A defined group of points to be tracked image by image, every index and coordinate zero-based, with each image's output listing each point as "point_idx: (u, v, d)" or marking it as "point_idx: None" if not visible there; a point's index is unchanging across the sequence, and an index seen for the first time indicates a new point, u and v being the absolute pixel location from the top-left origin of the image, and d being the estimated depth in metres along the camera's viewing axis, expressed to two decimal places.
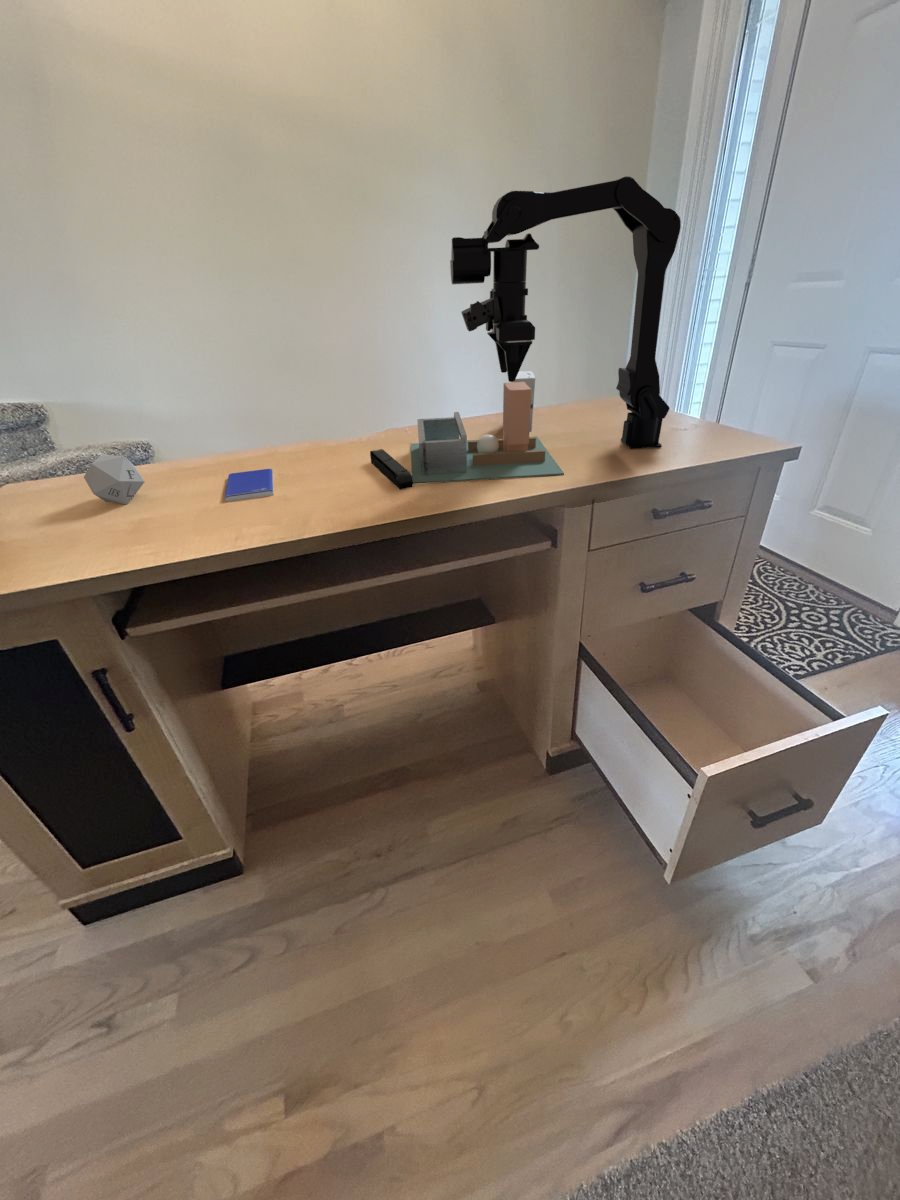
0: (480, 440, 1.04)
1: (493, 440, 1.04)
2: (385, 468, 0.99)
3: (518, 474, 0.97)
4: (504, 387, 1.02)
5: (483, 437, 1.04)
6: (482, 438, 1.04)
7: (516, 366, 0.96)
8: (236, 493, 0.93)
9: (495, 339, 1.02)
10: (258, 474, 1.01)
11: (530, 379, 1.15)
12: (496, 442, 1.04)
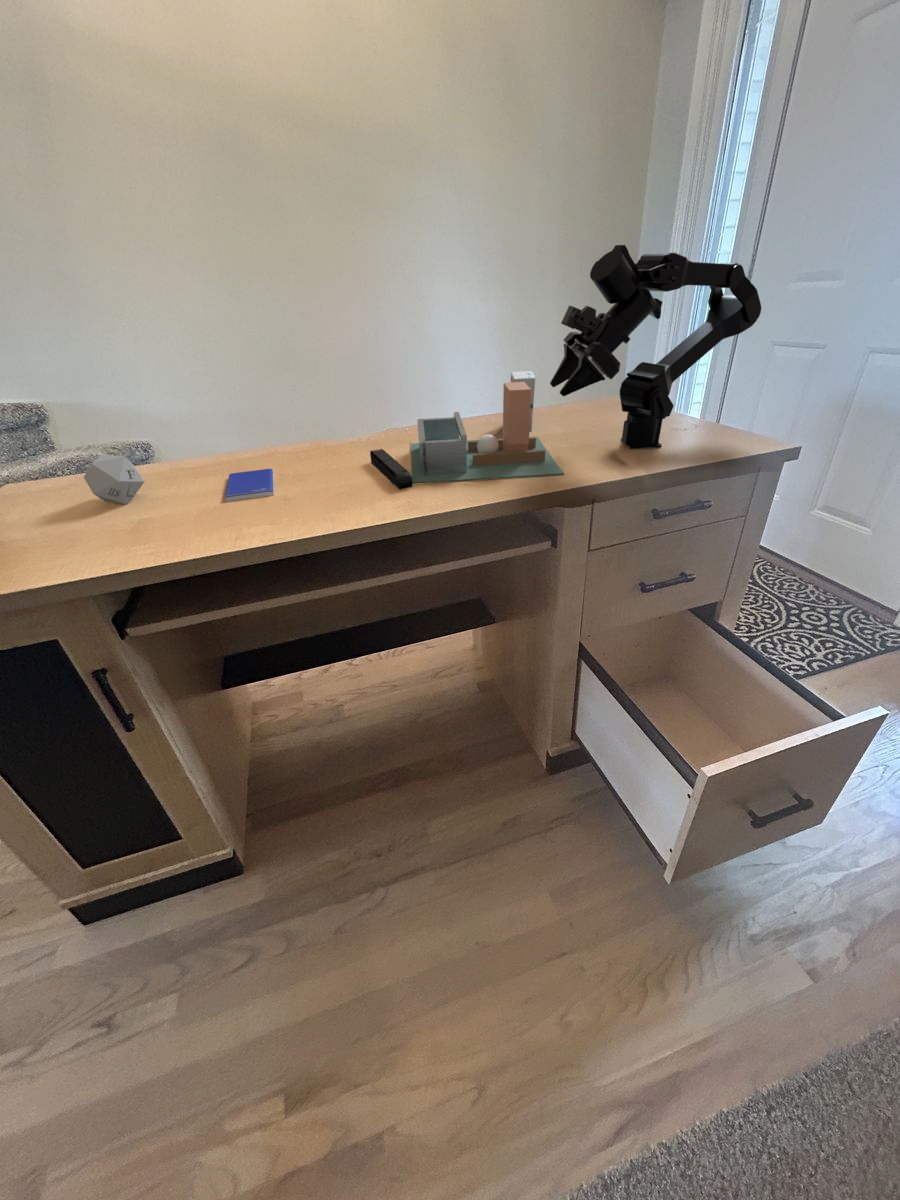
0: (480, 440, 1.04)
1: (493, 440, 1.04)
2: (385, 468, 0.99)
3: (518, 474, 0.97)
4: (504, 387, 1.02)
5: (483, 437, 1.04)
6: (482, 438, 1.04)
7: (575, 386, 0.96)
8: (236, 493, 0.93)
9: (568, 354, 1.02)
10: (258, 474, 1.01)
11: (530, 379, 1.15)
12: (496, 442, 1.04)
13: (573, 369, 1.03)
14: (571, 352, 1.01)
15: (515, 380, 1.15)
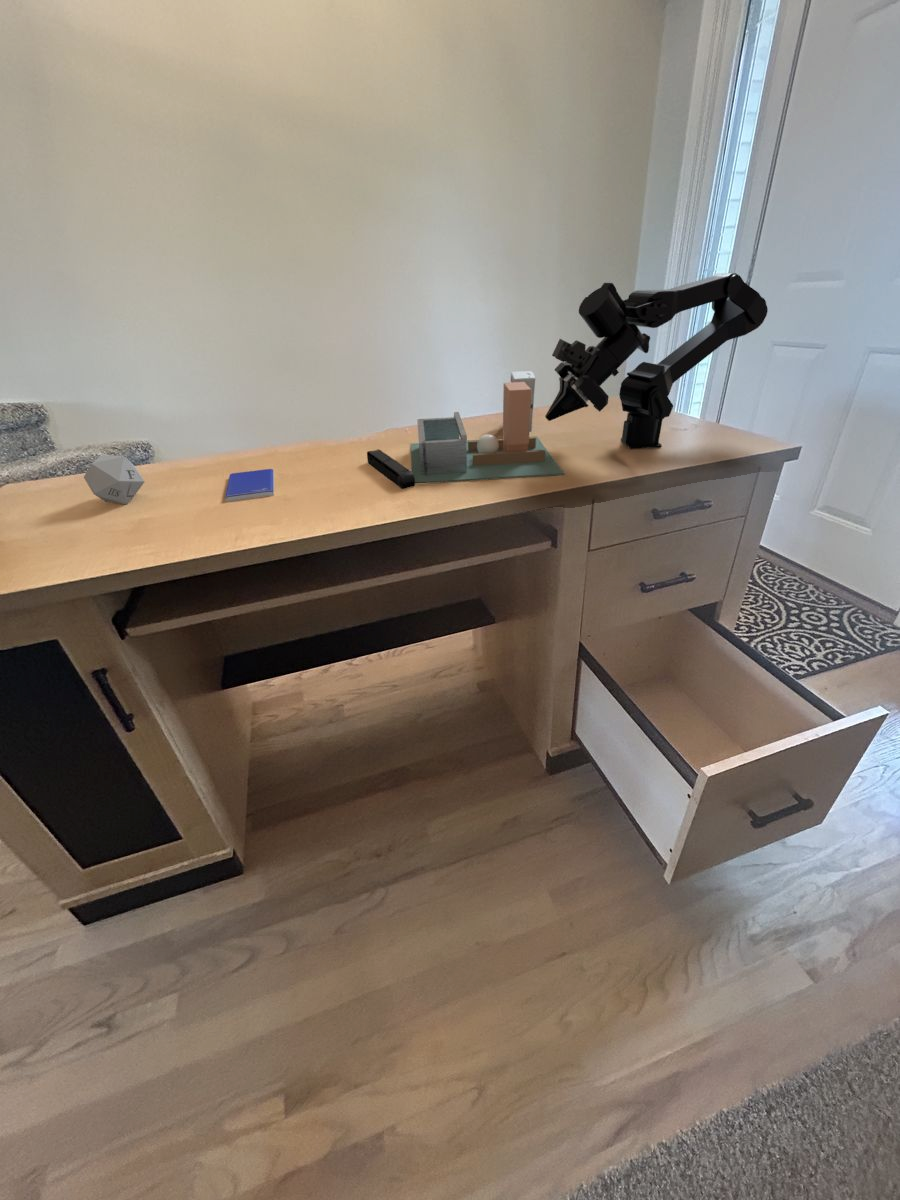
0: (480, 440, 1.04)
1: (493, 440, 1.04)
2: (385, 468, 0.99)
3: (518, 474, 0.97)
4: (504, 387, 1.02)
5: (483, 437, 1.04)
6: (482, 438, 1.04)
7: (560, 412, 1.02)
8: (237, 493, 0.93)
9: (563, 388, 1.01)
10: (259, 474, 1.01)
11: (530, 379, 1.15)
12: (496, 442, 1.04)
13: None
14: None
15: (515, 380, 1.15)
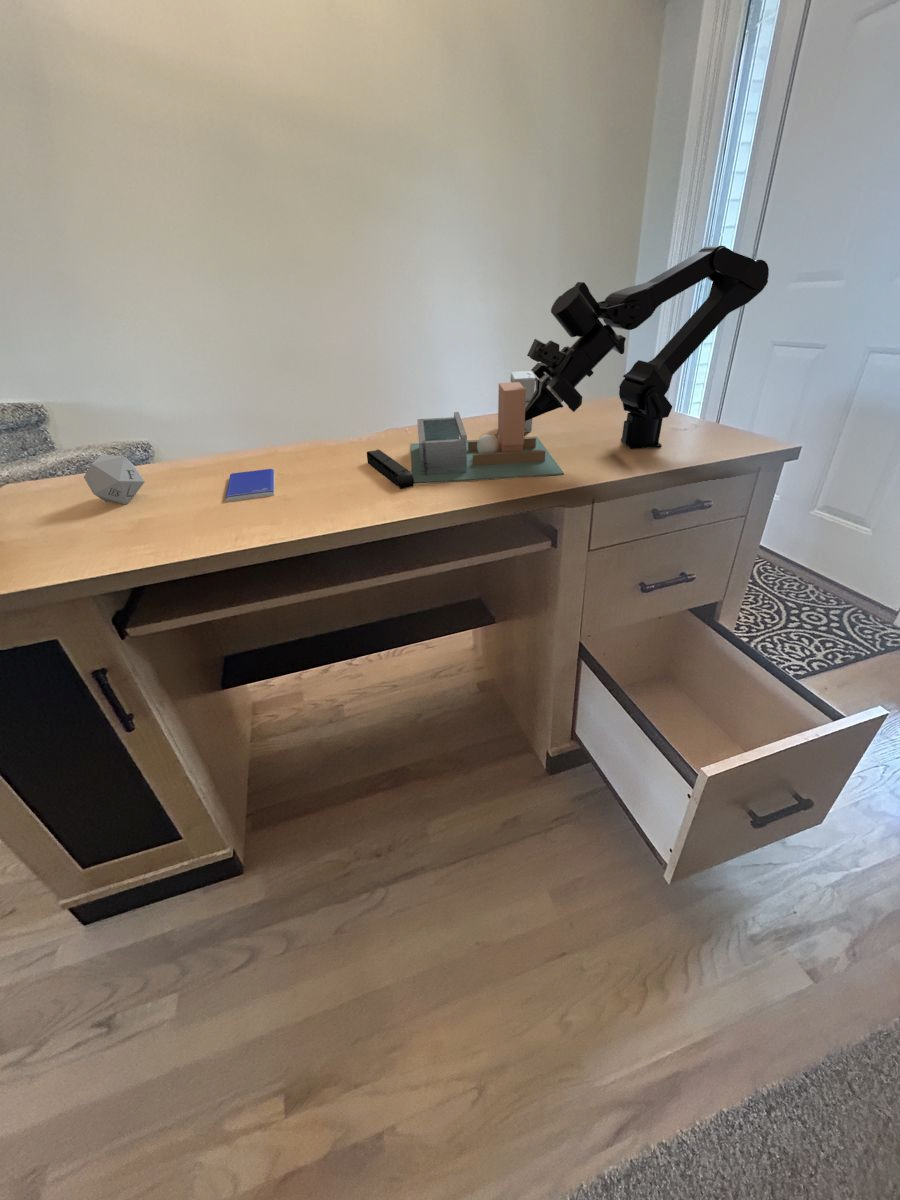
0: (480, 440, 1.04)
1: (493, 440, 1.04)
2: (384, 468, 0.99)
3: (518, 474, 0.97)
4: (499, 387, 1.02)
5: (483, 437, 1.04)
6: (482, 438, 1.04)
7: (536, 412, 1.01)
8: (237, 493, 0.93)
9: (539, 388, 1.01)
10: (259, 474, 1.01)
11: (530, 379, 1.15)
12: (496, 442, 1.04)
13: None
14: None
15: (515, 380, 1.15)
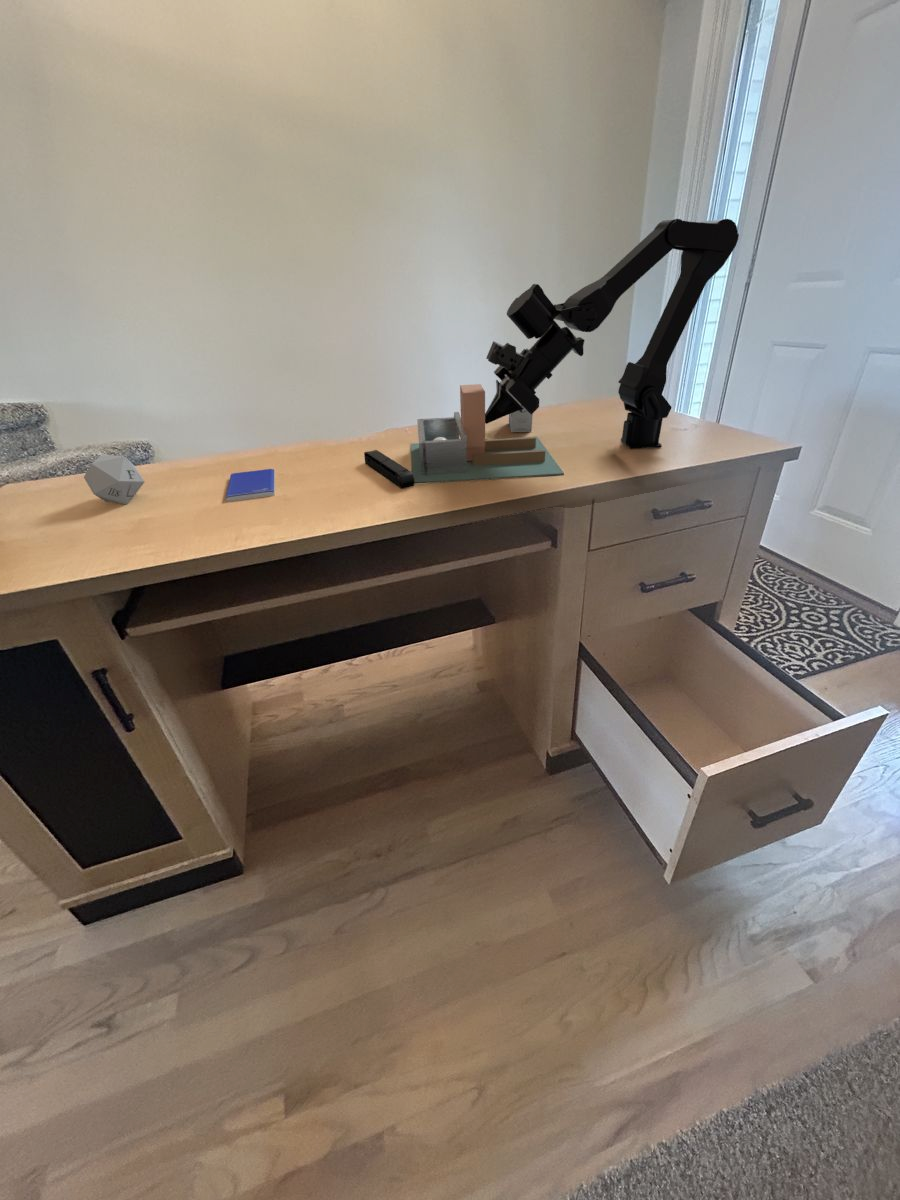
0: None
1: None
2: (383, 468, 0.99)
3: (518, 474, 0.97)
4: (460, 389, 1.02)
5: None
6: None
7: (496, 415, 1.01)
8: (237, 493, 0.93)
9: (499, 391, 1.01)
10: (259, 474, 1.01)
11: None
12: None
13: None
14: None
15: None
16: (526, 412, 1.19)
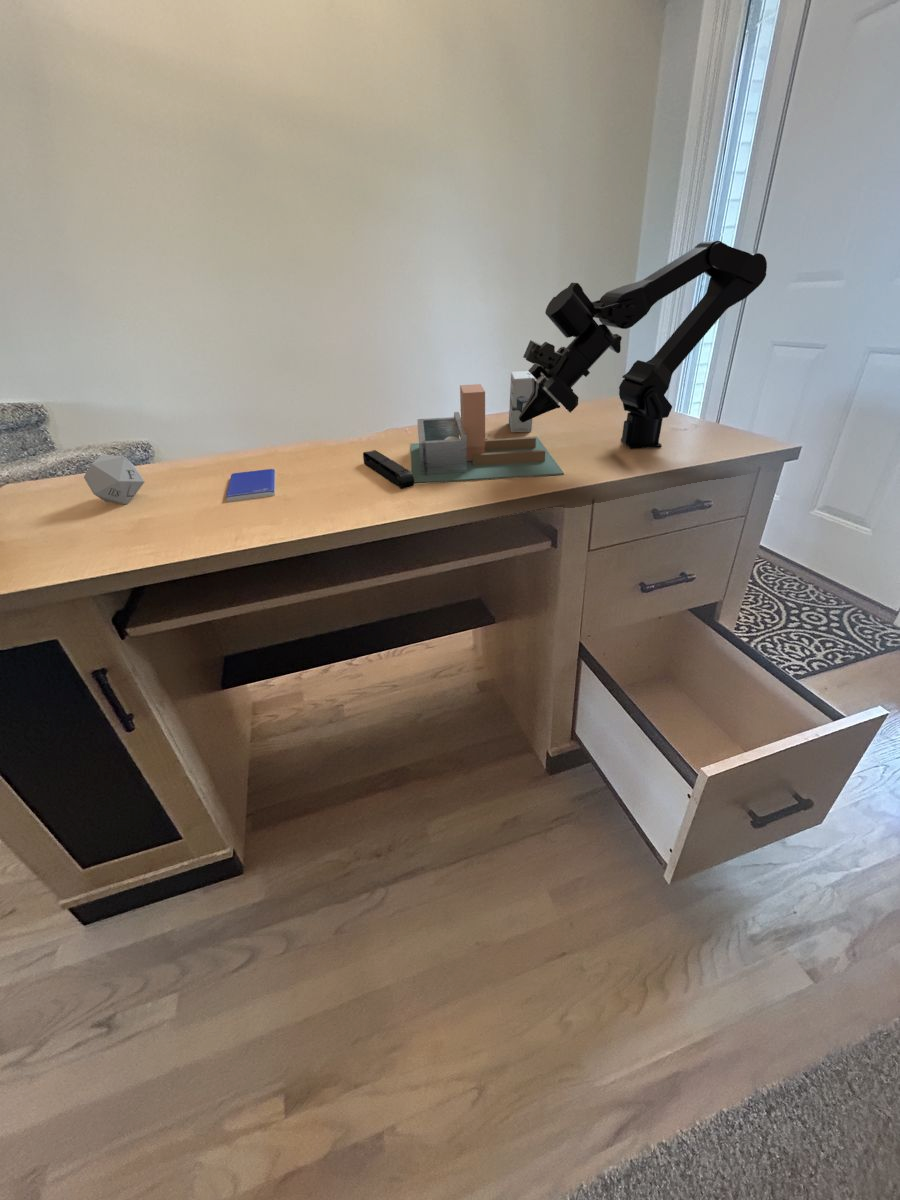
0: None
1: None
2: (383, 469, 0.99)
3: (518, 474, 0.97)
4: (460, 389, 1.02)
5: None
6: None
7: (533, 413, 1.02)
8: (237, 493, 0.93)
9: (536, 389, 1.01)
10: (260, 474, 1.01)
11: (530, 379, 1.15)
12: None
13: None
14: None
15: (515, 380, 1.15)
16: None
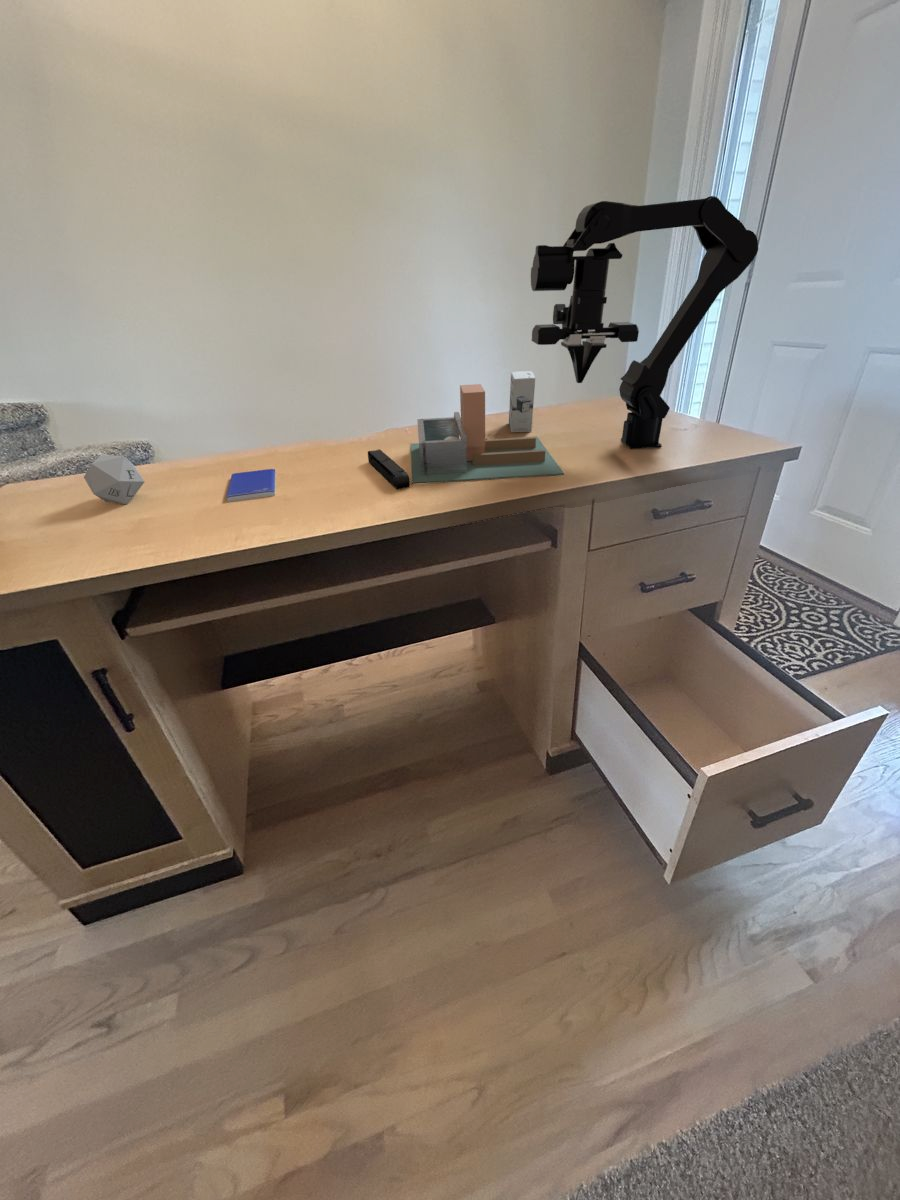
0: None
1: None
2: (382, 468, 0.99)
3: (518, 474, 0.97)
4: (460, 389, 1.02)
5: None
6: None
7: (575, 369, 1.01)
8: (238, 493, 0.93)
9: None
10: (260, 474, 1.01)
11: (530, 379, 1.15)
12: None
13: (586, 356, 0.99)
14: (584, 344, 1.01)
15: (515, 380, 1.15)
16: (526, 412, 1.19)
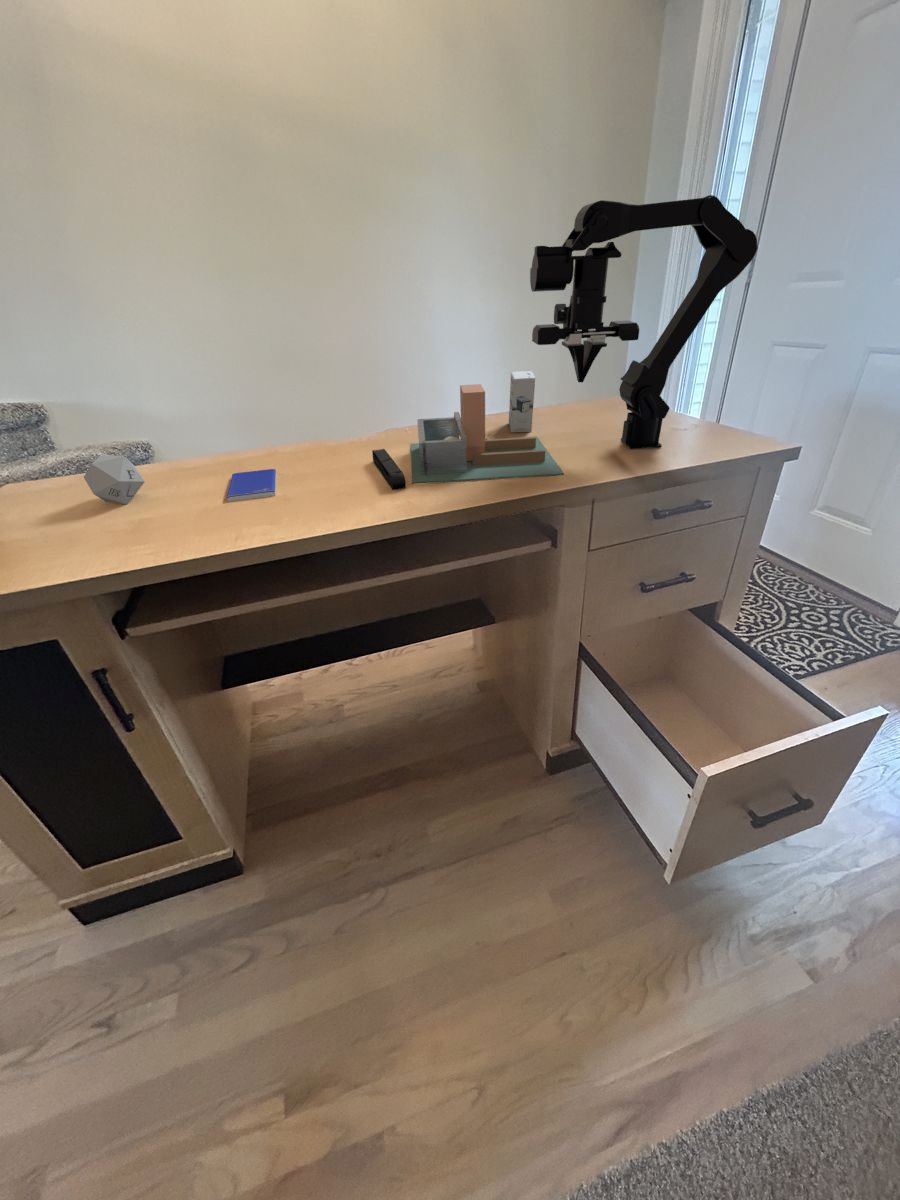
0: None
1: None
2: (382, 468, 0.99)
3: (518, 474, 0.97)
4: (460, 389, 1.02)
5: None
6: None
7: (576, 368, 1.01)
8: (238, 493, 0.93)
9: (584, 347, 1.01)
10: (261, 474, 1.01)
11: (530, 379, 1.15)
12: None
13: (586, 355, 0.99)
14: (585, 343, 1.01)
15: (515, 380, 1.15)
16: (526, 412, 1.19)
